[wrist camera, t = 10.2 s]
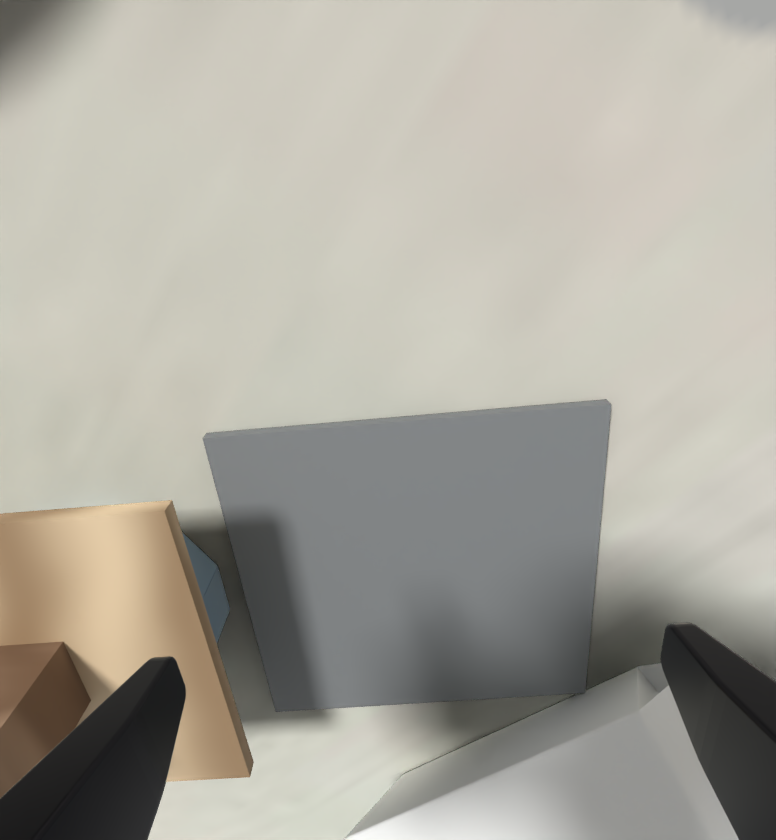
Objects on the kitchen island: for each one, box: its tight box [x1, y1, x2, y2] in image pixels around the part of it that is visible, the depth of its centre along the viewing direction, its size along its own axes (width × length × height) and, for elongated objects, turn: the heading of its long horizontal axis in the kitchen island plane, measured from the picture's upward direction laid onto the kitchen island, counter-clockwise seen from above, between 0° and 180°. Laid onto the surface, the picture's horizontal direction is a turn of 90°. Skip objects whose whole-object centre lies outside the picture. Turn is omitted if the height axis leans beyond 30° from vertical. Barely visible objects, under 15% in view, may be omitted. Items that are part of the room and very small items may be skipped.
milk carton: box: [344, 663, 739, 840], centre depth 23 cm, size 7×7×19 cm
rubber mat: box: [203, 399, 611, 712], centre depth 24 cm, size 16×16×1 cm
